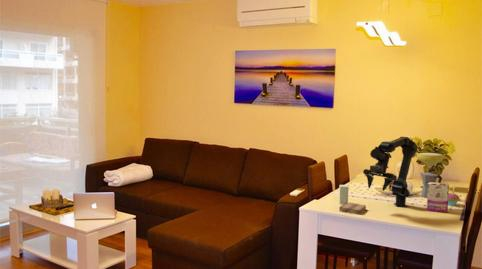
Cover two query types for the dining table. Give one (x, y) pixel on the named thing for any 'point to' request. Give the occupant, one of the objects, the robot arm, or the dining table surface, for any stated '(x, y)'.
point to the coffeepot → (428, 178)
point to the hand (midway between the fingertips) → (375, 189)
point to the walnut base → (352, 208)
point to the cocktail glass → (430, 158)
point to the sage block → (343, 194)
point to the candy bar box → (437, 197)
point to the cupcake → (452, 198)
